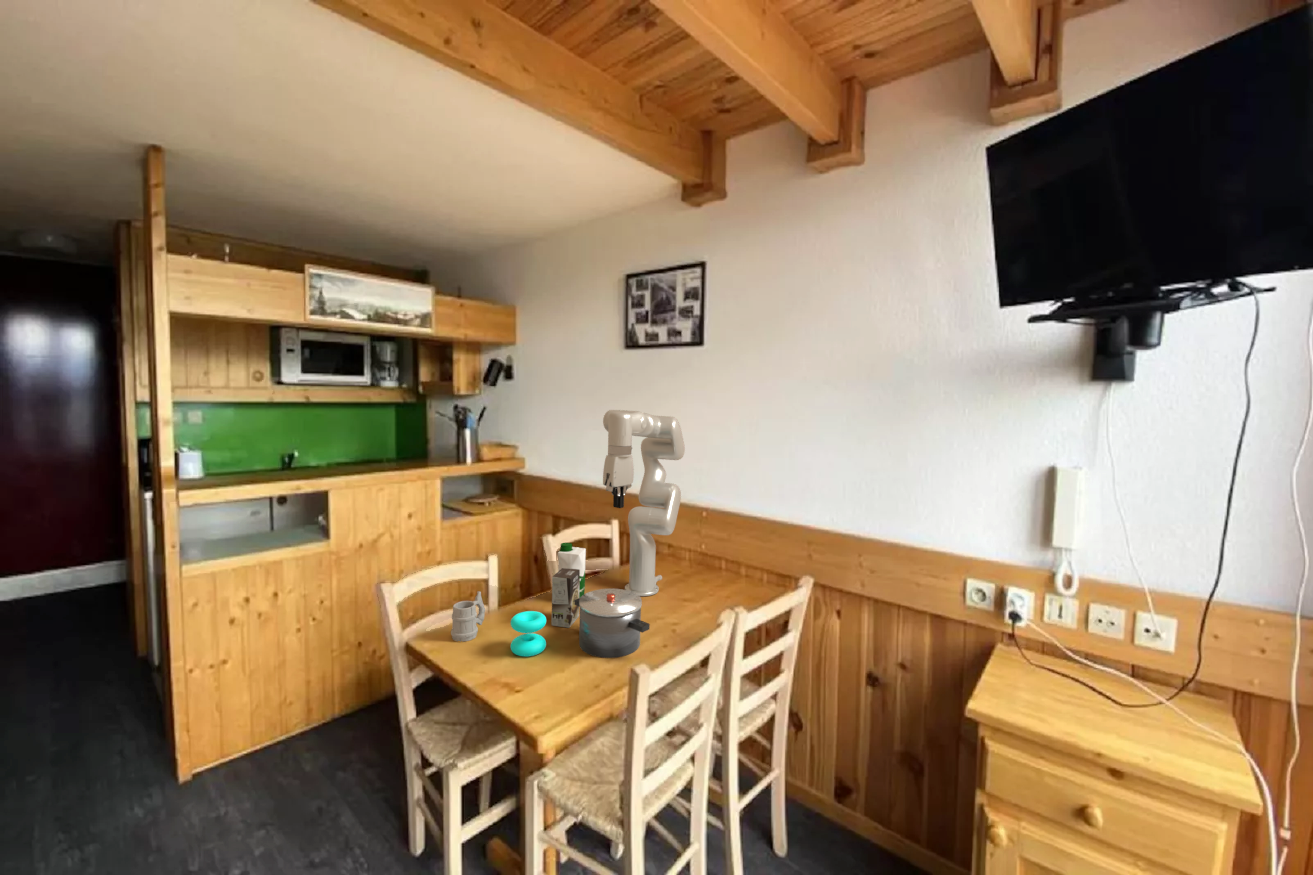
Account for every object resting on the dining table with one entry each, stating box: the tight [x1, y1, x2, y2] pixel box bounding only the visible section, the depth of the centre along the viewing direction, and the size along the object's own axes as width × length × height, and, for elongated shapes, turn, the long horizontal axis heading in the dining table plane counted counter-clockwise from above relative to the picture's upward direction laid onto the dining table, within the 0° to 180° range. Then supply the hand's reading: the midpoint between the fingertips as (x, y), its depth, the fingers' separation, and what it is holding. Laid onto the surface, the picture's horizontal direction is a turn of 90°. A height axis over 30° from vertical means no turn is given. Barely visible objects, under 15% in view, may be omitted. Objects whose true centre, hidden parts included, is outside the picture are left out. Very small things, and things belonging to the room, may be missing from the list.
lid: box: [579, 588, 643, 617], centre depth 165 cm, size 18×18×3 cm
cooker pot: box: [575, 598, 651, 659], centre depth 166 cm, size 18×28×12 cm, turn 50°
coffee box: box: [551, 568, 580, 628], centre depth 180 cm, size 9×6×16 cm
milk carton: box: [557, 542, 587, 598], centre depth 197 cm, size 9×9×20 cm
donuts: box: [510, 610, 547, 657], centre depth 160 cm, size 10×10×10 cm
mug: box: [450, 590, 486, 642], centre depth 169 cm, size 8×12×12 cm, turn 152°
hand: (618, 507), depth 180 cm, fingers closed
